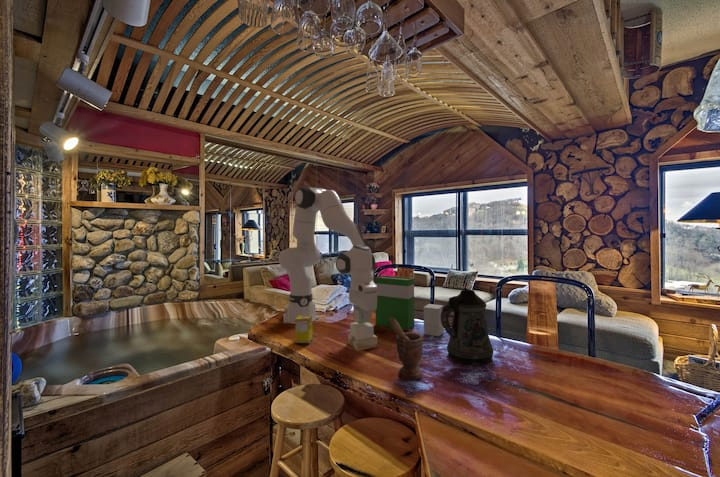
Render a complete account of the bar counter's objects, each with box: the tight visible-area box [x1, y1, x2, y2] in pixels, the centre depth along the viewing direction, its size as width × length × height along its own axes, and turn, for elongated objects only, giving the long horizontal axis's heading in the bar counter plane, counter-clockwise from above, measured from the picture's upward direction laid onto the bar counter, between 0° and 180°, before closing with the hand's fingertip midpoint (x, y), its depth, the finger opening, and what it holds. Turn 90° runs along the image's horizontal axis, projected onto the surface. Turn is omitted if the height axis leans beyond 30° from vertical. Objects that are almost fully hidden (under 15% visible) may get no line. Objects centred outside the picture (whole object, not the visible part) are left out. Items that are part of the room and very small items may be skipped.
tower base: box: [347, 332, 378, 351], centre depth 132 cm, size 9×9×4 cm
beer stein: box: [440, 289, 494, 366], centre depth 118 cm, size 16×19×25 cm
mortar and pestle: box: [388, 317, 424, 381], centre depth 103 cm, size 12×9×20 cm
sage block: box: [353, 308, 371, 324], centre depth 132 cm, size 5×5×5 cm
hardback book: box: [375, 274, 415, 331], centre depth 158 cm, size 18×7×24 cm, turn 59°
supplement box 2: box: [423, 303, 445, 337], centre depth 146 cm, size 7×7×13 cm
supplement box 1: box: [294, 315, 313, 345], centre depth 136 cm, size 6×6×11 cm
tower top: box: [349, 321, 375, 339], centre depth 132 cm, size 8×8×4 cm
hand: (361, 317), depth 132 cm, fingers closed on sage block, 5 cm apart
